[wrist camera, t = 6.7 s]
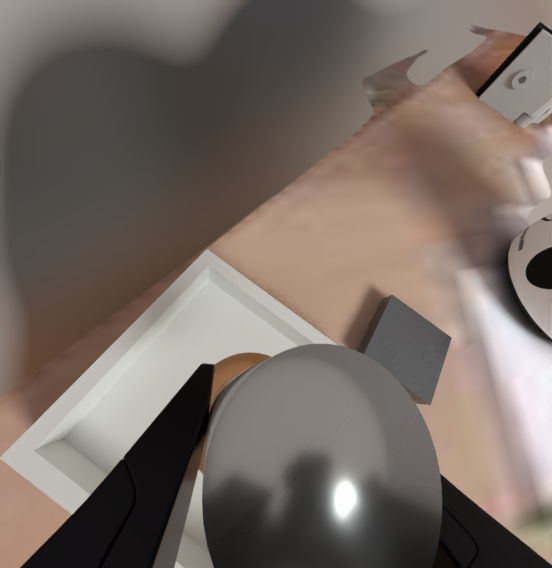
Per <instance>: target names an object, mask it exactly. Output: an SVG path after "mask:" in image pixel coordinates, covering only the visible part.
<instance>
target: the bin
mask: <svg viewBox="0 0 552 568" xmlns="http://www.w3.org/2000/svg"><path fill="white" fill-rule="evenodd" d="M308 344H332V345H337V344H335V343H334V342H333V341H331V340H330V339H329V338H327V337H326V336H325V335H323V334H322V333H321V332H319V331H318V330H316V329H315V328H314V327H312V326H311V325H310V324H308V323H307V322H306V321H304V320H303V319H302V318H300V317H299V316H297V315H296V314H295V313H293V312H292V311H291V310H289V309H288V308H287V307H285V306H284V305H283V304H281V303H280V302H278V301H277V300H276V299H274V298H273V297H272V296H270V295H269V294H268V293H266V292H265V291H264V290H262V289H261V288H259V287H258V286H257V285H255V284H254V283H253V282H251V281H250V280H249V279H247V278H246V277H244V276H243V275H242V274H240V273H239V272H238V271H236V270H235V269H234V268H232V267H231V266H230V265H228V264H227V263H225V262H224V261H223V260H221V259H220V258H219V257H217V256H216V255H215V254H213V253H212V252H211V251H209V250H208V249H206V250H205V251H204V252H203V253H202V254H201V255H200V256H199V257H198V258H197V259H196V260H195V261H194V262H193V263H192V264H191V265H190V266H189V267H188V268H187V269H186V270H185V271H184V272H183V273H182V274H181V275H180V276H179V277H178V278H177V279H176V280H175V281H174V283H173V284H172V285H171V286H170V287H169V288H168V289H167V290H166V291H165V292H164V293H163V294H162V295H161V296H160V297H159V298H158V299H157V300H156V301H155V302H154V303H153V304H152V305H151V306H150V307H149V308H148V309H147V310H146V311H145V312H144V313H143V314H142V315H141V316H140V317H139V318H138V319H137V320H136V321H135V322H134V323H133V324H132V325H131V326H130V327H129V328H128V329H127V330H126V331H125V332H124V333H123V334H122V335H121V336H120V337H119V338H118V339H117V340H116V341H115V342H114V343H113V344H112V345H111V346H110V347H109V348H108V349H107V350H106V351H105V352H104V353H103V354H102V355H101V356H100V357H99V358H98V359H97V360H96V361H95V362H94V363H93V364H92V365H91V366H90V367H89V368H88V369H87V370H86V371H85V372H84V373H83V374H82V375H81V376H80V377H79V378H78V380H77V381H76V382H75V383H74V384H73V385H72V386H71V387H70V388H69V389H68V390H67V391H66V392H65V393H64V394H63V395H62V396H61V397H60V398H59V399H58V400H57V401H56V402H55V403H54V404H53V405H52V406H51V407H50V408H49V409H48V410H47V411H46V412H45V413H44V414H43V415H42V416H41V417H40V418H39V419H38V420H37V421H36V422H35V423H34V424H33V425H32V426H31V427H30V428H29V429H28V430H27V431H26V432H25V433H24V434H23V435H22V436H21V437H20V438H19V439H18V440H17V441H16V442H15V443H14V444H13V445H12V446H11V447H10V448H9V449H8V450H7V451H6V452H5V453H4V454H3V455H2V456H1V457H0V459H2V460H3V461H4V462H5V463H7V464H8V465H9V466H10V467H12V468H13V469H14V470H16V471H17V472H18V473H19V474H21V475H22V476H23V477H25V478H26V479H27V480H28V481H30V482H31V483H32V484H33V485H35V486H36V487H37V488H39V489H40V490H41V491H42V492H44V493H45V494H46V495H48V496H49V497H50V498H51V499H53V500H54V501H55V502H56V503H58V504H59V505H60V506H62V507H63V508H64V509H65V510H67V511H68V512H69V513H71V514H73V513H74V512H75V511H76V510H77V509H78V508H79V507H80V506H81V505H82V504H83V503H84V502H85V501H86V499H87V498H88V497H89V496H90V495H91V494H92V493H93V491H94V490H95V489H96V488H97V487H98V486H99V485H100V483H101V482H102V481H103V480H104V479H105V478H106V477H107V475H108V474H109V473H110V472H111V471H112V469H113V468H114V467H115V466H116V465H117V463H118V462H119V461H120V460H121V459H123V457H124V455H125V454H126V453H127V452H128V451H129V449H130V448H131V447H132V446H133V445H134V443H135V442H136V441H137V440H138V439H139V437H140V436H141V435H142V434H143V433H144V431H145V430H146V429H147V428H148V427H149V425H150V424H151V423H152V422H153V421H154V419H155V418H156V417H157V416H158V415H159V414H160V412H161V411H162V410H163V409H164V408H165V406H166V405H167V404H168V403H169V402H170V400H171V399H172V398H173V397H174V396H175V394H176V393H177V392H178V391H179V390H180V388H181V387H182V386H183V385H184V384H185V382H186V381H187V380H188V379H189V378H190V376H191V375H192V374H193V373H194V372H195V370H196V369H197V368H198V367H199V366H200V365H201V364H202V363H207V364H214V365H215V364H216V363H218V362H219V361H221V360H223V359H225V358H227V357H229V356H232V355H235V354H239V353H248V352H254V353H261V354H265V355H268V356H271V357H273V356H275V355H277V354H279V353H281V352H283V351H285V350H288V349H291V348H294V347H298V346H302V345H308ZM202 488H203V474H202V473H201V471H200V470H199V469H198V473H197V477H196V481H195V485H194V489H193V493H192V497H191V502H190V506H189V510H188V514H187V518H186V522H185V526H184V530H183V534H182V538H181V542H180V546H179V550H178V554H177V558H176V562H175V566H174V568H214V567H213V564H212V560H211V557H210V554H209V550H208V547H207V542H206V536H205V530H204V525H203V511H202Z"/></svg>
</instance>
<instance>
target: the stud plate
mask: <svg viewBox="0 0 552 568" xmlns="http://www.w3.org/2000/svg"><path fill="white" fill-rule="evenodd" d="M450 341H451V337H450V336H448V335H447V334H446V333H444V332H443V331H442V330H440V329H439V328H437V327H436V326H435V325H433V324H432V323H431V322H429V321H428V320H426V319H425V318H424V317H422V316H421V315H419V314H418V313H417V312H415V311H414V310H413V309H411V308H410V307H408V306H407V305H406V304H404V303H403V302H402V301H400V300H399V299H397V298H396V297H395V296H393V295H391V296H389V297H387V298H385V299H383V300H382V302H381V304H380V306H379V308H378V310H377V312H376V314H375V316H374V318H373V320H372V322H371V324H370V326H369V329H368V331H367V333H366V335H365V337H364V339H363V341H362V343H361V345H360V347H359V349H358V352H360V353H362V354H364V355H366V356H368V357H370V358H371V359H373V360H375V361H376V362H378V363H379V364H380V365H381V366H383V367H384V368H385V369H387V370H388V371H389V372H390V373H391V374H392V375H393V376H394V377H395V378H396V379H397V380H398V381H399V382H400V384H401V385H402V386H403V387H404V388H405V389H406V391H407V392H408V394H409V395H410V396H411V398H412V399H413V401H415V402H416V403H417V404H428V405H431V402H432V398H433V395H434V392H435V389H436V386H437V382H438V379H439V376H440V373H441V370H442V367H443V363H444V360H445V357H446V354H447V351H448V347H449V344H450Z"/></svg>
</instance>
